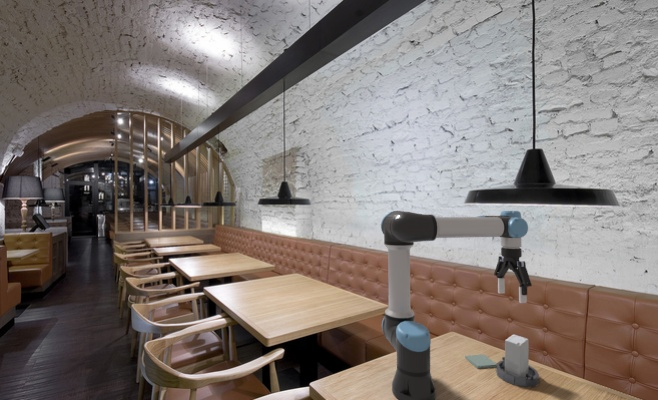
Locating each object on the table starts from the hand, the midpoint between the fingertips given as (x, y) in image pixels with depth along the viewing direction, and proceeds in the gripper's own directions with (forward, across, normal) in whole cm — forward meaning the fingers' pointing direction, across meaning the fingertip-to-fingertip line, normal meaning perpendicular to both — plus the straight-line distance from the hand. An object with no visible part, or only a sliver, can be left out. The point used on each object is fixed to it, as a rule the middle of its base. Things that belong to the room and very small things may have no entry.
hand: (511, 297), depth 134 cm
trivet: (+28, +3, +12) cm, 30 cm away
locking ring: (+28, -9, +5) cm, 30 cm away
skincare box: (+28, -9, +5) cm, 30 cm away
